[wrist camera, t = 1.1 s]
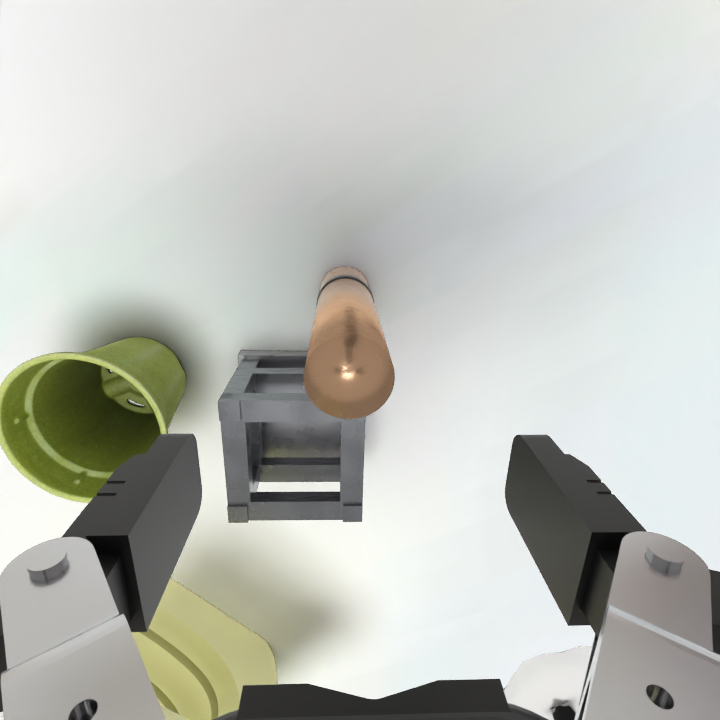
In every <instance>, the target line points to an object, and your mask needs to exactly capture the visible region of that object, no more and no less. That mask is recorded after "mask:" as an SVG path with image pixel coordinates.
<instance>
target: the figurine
mask: <svg viewBox="0 0 720 720" xmlns="http://www.w3.org/2000/svg"><path fill="white" fill-rule="evenodd" d="M591 648H592V646H578V647H575V648H572V649H569V650H566V651H564V652H556V653H547V654H541V655H539V656H536V657H534V658H531V659H529V660H526V661H524V662H523V663H522V664H521V666H520V667H519V668H518V670H517V671H516V672H515V673H514V675H513V676H512V678H511V680H510V681H509V683H508V685H507V687H506V688H505V689H504V693H505V697H506V700H507V703H510V704H514V705H517V706H520V707H522V708H525V709H528V710H530V711H533V712H535V713H537V714H538V715H540V716H542V717H544V718H546V719H548V720H575V715H576V711H577V707H578V703H579V699H580V694H581V690H582V686H583V682H584V677H585V673H586V669H587V665H588V660H589V656H590V652H591Z"/></svg>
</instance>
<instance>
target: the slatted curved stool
mask: <svg viewBox="0 0 720 720" xmlns="http://www.w3.org/2000/svg"><path fill="white" fill-rule="evenodd" d="M132 635H133V638H134V640H135V643H136V645H137V648H138V650H139V653H140V655H141V658H142V661H143V663H144V666H145V668H146V671H147V673H148V676H149V678H150V681H151V684H152V686H153V689H154V691H155V694H156V696H157V699H158V701H159V704H160V707H161V709H162V712H163V714H164V717H165V719H166V720H213V719H215V718H217V717H220V716H222V715H224V714H226V713H229V712H232V711H235V710H238V709H239V704H240V699H241V693H242V688H243V685H277V684H278V682H277V671H276V664H275V659H274V656H273V653H272V650H271V648H270V647H269V645H268V643H267V642H266V641H265V640H264V639H263V638H261V637H260V636H258V635H257V634H255V633H254V632H252V631H251V630H249V629H248V628H246V627H245V626H243V625H242V624H240V623H238V622H237V621H235V620H234V619H232V618H231V617H229V616H228V615H226V614H225V613H223V612H222V611H220V610H219V609H217V608H216V607H214V606H213V605H211V604H210V603H208V602H207V601H205V600H203V599H202V598H200V597H199V596H197V595H196V594H194V593H193V592H191V591H190V590H188V589H187V588H185V587H184V586H182V585H181V584H179V583H178V582H176V581H175V580H173V579H172V578H170V580H169V582H168V584H167V586H166V589H165V591H164V593H163V596H162V598H161V600H160V603H159V605H158V607H157V609H156V612H155V614H154V616H153V619H152V621H151V623H150V626H149V628H148V630H147V632H132Z"/></svg>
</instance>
